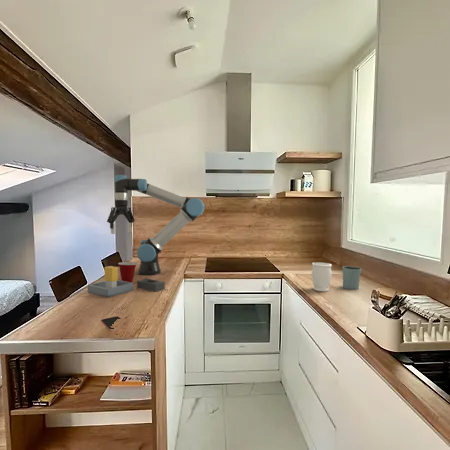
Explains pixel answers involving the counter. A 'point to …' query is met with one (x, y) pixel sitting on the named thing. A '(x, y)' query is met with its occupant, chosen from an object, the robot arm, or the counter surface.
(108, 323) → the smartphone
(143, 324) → the counter surface
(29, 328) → the counter surface
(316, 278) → the jar
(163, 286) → the block
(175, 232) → the robot arm
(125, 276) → the plastic cup
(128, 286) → the parts tray
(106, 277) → the block
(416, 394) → the counter surface
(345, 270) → the teal tapered cup
